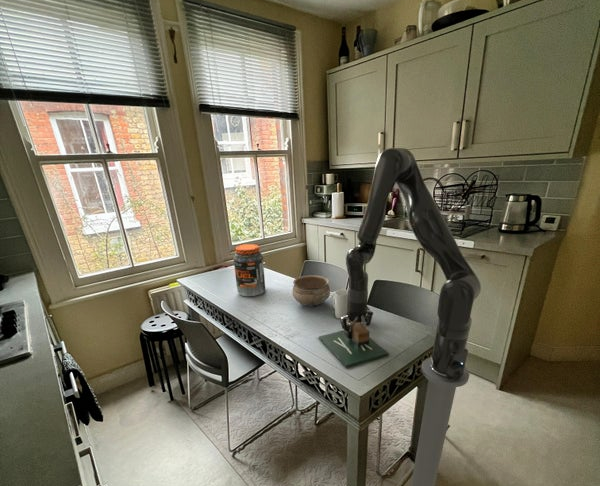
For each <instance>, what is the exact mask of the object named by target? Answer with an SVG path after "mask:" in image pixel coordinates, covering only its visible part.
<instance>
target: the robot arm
mask: <svg viewBox="0 0 600 486" xmlns="http://www.w3.org/2000/svg"><path fill="white" fill-rule="evenodd" d="M418 165H419V164H418V163H417V160H416V158H415V155H414V154H413V153H412V152H411V151H410V150H409V149H407V148H404V147H390V148H387V149H384V150H383V151H382V152H381V153H380V154H379V155H378V157H377V160H376V162H375V166H374V172H373V177H372V182H371V186H370V191H369V196H368V199H367V204H366V207H365V211H364V214H363V217H362V220H361V222H360V225H359V228H358V230H357V235H356V238H357V240H358V241H359V242H358V244H357V246H355V247H353V248H350V249H349V250H348V251H347V253H346V255H345V266H346V270H347V274H348V288H347V290H348V297H347V298H348V300H347V310H348V312H347V315H346V316H344V317H343V316H340V319H339V320H340V325H341V329H342V330H345V331H347V335H346V336H347V337H348V338H349V339H352V329H353V327H354V326H355V323H357V322H360V324H361V325H362V326H364V327H365V328H366V329H367V327H369V326H371V323H372V319H373V316H374V312H373V311H372V310H367V307H368V299H369V287H368V286H369V274H368V272H367V271H365V270H364V266H365V265H367V264H369V263H370V262H371V260H372V259H373V258H374V255H375V253H376V247H377V240H378V238H379V237H380V233H381V231H382V228H383V225H384V223H385V219H386V212H387V211H386V209H387V204H388V199H389V197H390V193H391V192H392V189H393V187H394V186H395V185H396V186H397V188H398V189H399V191H400V193H401V195H402V197H403V199H404V203H405V207H406V215H407V221H408V225H409V228H410V229H411V231H412V233H413V235H414V237H415V239H416V241H417V242H418V244H419V245H420V247H421V248H422V249H423V250H424V252H426V253H427V254H428V255H429V256H430V257H432V258H433V259H434V260H435V261H436V262H437V264H438V266H439V267H440V268H441V270H442V272H443V275H444V277H445V280H446V281H445V282H444V283H443V284H442V286H441V287H440V291H439V298H438V306H437V317H438V319H437V323H436V324H437V325H436V331H435V335H434V341H433V348H432V354H431V356H430V357H429V358H431V364H430V368H431V370H432V371H433V372H434V373H435V374H437V375H439V376H442V377H446V378H447V379H452V378H453V381H457V380H459V379H460V378H461V375H463V372H464V368H465V367H466V363H467V358H468V354H469V350H468V349H467V345H468V344H467V343H468V339H469V334H470V329H471V326H472V321H473V320H472V317H471V316H472V311H473V305H474V301H475V300H476V299H477V298H478V296H479V295H480V293H481V290H482V285H481V281H480V278H479V277H478V275H477V274H476V273H475V271H474V270H473V268H472V266H471V265H470V264H469V263H468V261H467V260H466V258H465V257H464V255H463V253H462V251H461V249H460V247H459V244H458V243H457V241H456V239H455V237H454V235H453V233H452V231H451V228H450V227H449V224H448V223H447V221H446V219H445V217H444V215H443V212H441V210H440V208H439V206H438V205H437V202H436V201H435V199H434V196H433V195H432V194H431V192H430V190H429V188H428V187H427V185H426V183H425V181H424V178H423V175H422V173H421V170H420V167H419V166H418ZM366 310H367V311H366ZM365 316H366V317H365ZM364 317H365V319H364ZM347 321H348V322H347ZM346 322H347V323H346ZM351 322H352V323H351ZM349 327H350V328H349ZM455 377H457V378H455Z"/></svg>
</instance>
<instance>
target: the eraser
mask: <svg viewBox="0 0 600 486" xmlns="http://www.w3.org/2000/svg"><path fill="white" fill-rule="evenodd" d="M347 322H348V320H347ZM347 322H346V323H347ZM351 323H352V322H351ZM349 328H350V327H349ZM343 330H344V329H343ZM370 333H371V331H370V330H369V329H368V328H367V327H366V328H365V327H364V326H362V325H361V324H360V323H359V322H357V323H355V326H354V327H353V329H352V339H350V340H351V341H353V342H354V343H355V344H356V345H357V346H361V345H365V344H369V338H370ZM344 334H345V335H347V331H345V330H344Z"/></svg>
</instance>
